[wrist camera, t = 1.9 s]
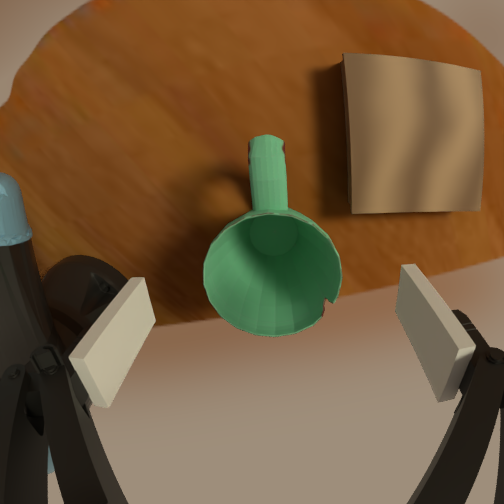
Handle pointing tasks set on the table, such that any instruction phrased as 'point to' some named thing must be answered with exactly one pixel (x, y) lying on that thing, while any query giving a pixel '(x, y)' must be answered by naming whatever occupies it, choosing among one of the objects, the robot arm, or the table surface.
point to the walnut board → (412, 134)
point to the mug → (271, 256)
